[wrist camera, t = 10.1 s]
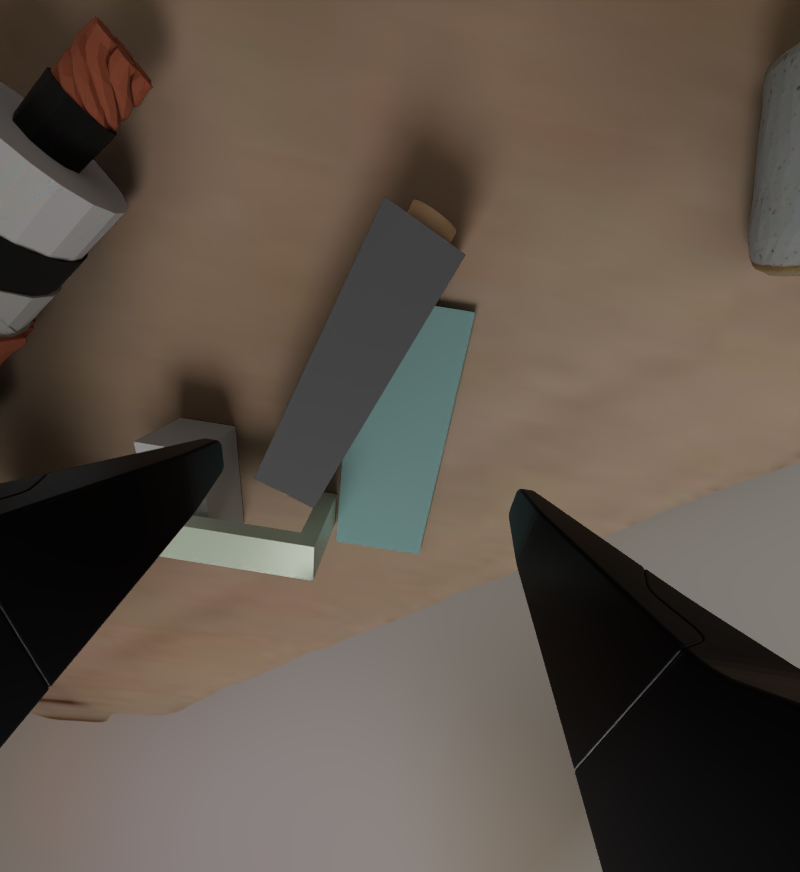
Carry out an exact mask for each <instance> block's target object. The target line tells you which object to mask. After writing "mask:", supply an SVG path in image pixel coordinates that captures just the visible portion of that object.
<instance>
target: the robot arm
mask: <svg viewBox="0 0 800 872" xmlns="http://www.w3.org/2000/svg"><path fill="white" fill-rule="evenodd" d="M223 468H224V461H223V452H222V445H221V442H219V441H218V440H214V439H208V438H204V439H199V440H194V441H190V442H185V443H181V444H176V445H172V446H167V447H163V448H158V449H154V450H149V451H145V452H140V453H136V454H131V455H127V456H122V457H118V458H113V459H109V460H104V461H100V462H95V463H91V464H86V465H82V466H77V467H73V468H68V469H64V470H59V471H55V472H51V473H49V474H41V475H37V476H32V477H28V478H23V479H18V480H14V481H9V482H4V483H0V748H1V746H2V745H3V744H4V743H5V742H6V740H7V739H8V738H9V737H10V735H11V734H12V733H13V732H14V731H15V729H16V728H17V727H18V726H19V725H20V723H21V722H22V721H23V720H24V719H25V717H26V716H27V715H28V714H29V713H30V711H31V710H32V709H33V708H34V707H35V705H36V704H37V703H38V702H39V701H40V699H41V698H42V697H43V696H44V695H45V693H46V692H47V691H48V689H49V688H48V687H50V686H52V685H53V683H54V682H55V681H56V680H57V678H58V677H59V676H60V675H61V674H62V672H63V671H64V670H65V669H66V668H67V666H68V665H69V664H70V663H71V662H72V660H73V659H74V658H75V657H76V656H77V654H78V653H79V652H80V651H81V650H82V648H83V647H84V646H85V645H86V644H87V642H88V641H89V640H90V639H91V638H92V636H93V635H94V634H95V633H96V631H97V630H98V629H99V628H100V627H101V625H102V624H103V623H104V622H105V621H106V619H107V618H108V617H109V616H110V615H111V613H112V612H113V611H114V610H115V609H116V607H117V606H118V605H119V604H120V603H121V601H122V600H123V599H124V598H125V597H126V595H127V594H128V593H129V592H130V591H131V589H132V588H133V587H134V586H135V584H136V583H137V582H138V581H139V580H140V578H141V577H142V576H143V575H144V574H145V572H146V571H147V570H148V569H149V568H150V566H151V565H152V564H153V563H154V562H155V560H156V559H157V558H158V557H159V556H160V554H161V553H162V552H163V551H164V550H165V548H166V547H167V546H168V545H169V544H170V542H171V541H172V540H173V539H174V538H175V536H176V535H177V534H178V533H179V531H180V530H181V529H182V528H183V527H184V525H185V524H186V523H187V522H188V521H189V519H190V518H191V517H192V516H193V514H194V513H195V512H196V510H197V509H198V507H199V506H200V505H201V503H202V502H203V500H204V499H205V497H206V496H207V494H208V493H209V491H210V490H211V488H212V487H213V485H214V484H215V482H216V481H217V479H218V478H219V476H220V475H221V473H222V471H223ZM509 521H510V527H511V533H512V539H513V546H514V552H515V558H516V563H517V567H518V571H519V575H520V577H521V582H522V585H523V589H524V592H525V596H526V600H527V603H528V607H529V610H530V614H531V617H532V621H533V624H534V628H535V631H536V635H537V639H538V642H539V646H540V649H541V653H542V656H543V660H544V663H545V667H546V671H547V674H548V678H549V681H550V685H551V688H552V692H553V695H554V699H555V702H556V706H557V710H558V713H559V717H560V720H561V724H562V727H563V731H564V734H565V738H566V741H567V745H568V749H569V752H570V756H571V759H572V763H573V766H574V769H575V770H576V771H575V775H576V778H577V782H578V785H579V788H580V792H581V796H582V799H583V802H584V806H585V810H586V814H587V817H588V821H589V824H590V828H591V831H592V834H593V838H594V842H595V845H596V849H597V852H598V856H599V860H600V863H601V867H602V870H603V872H800V669H799V668H797V667H795V666H794V665H792V664H790V663H789V662H787V661H786V660H784V659H783V658H781V657H780V656H778V655H776V654H775V653H773V652H772V651H770V650H769V649H767V648H765V647H764V646H762V645H761V644H759V643H757V642H756V641H754V640H753V639H751V638H750V637H748V636H747V635H745V634H743V633H742V632H740V631H738V630H737V629H735V628H734V627H732V626H731V625H729V624H728V623H726V622H724V621H723V620H721V619H720V618H718V617H717V616H715V615H713V614H712V613H711V612H709V611H707V610H706V609H704V608H703V607H701V606H699V605H698V604H697V603H695V602H694V601H692V600H691V599H689V598H687V597H686V596H684V595H683V594H681V593H680V592H679V591H677V590H676V589H674V588H673V587H671V586H670V585H668V584H667V583H665V582H664V581H662V580H661V579H659V578H658V577H657V576H655V575H654V574H652V573H651V572H649V571H648V570H644V568H643V567H642V566H641V565H639V564H638V563H636V562H635V561H634V560H632V559H631V558H629V557H628V556H626V555H625V554H623V553H622V552H621V551H619V550H618V549H616V548H615V547H613V546H612V545H611V544H609V543H608V542H606V541H605V540H603V539H602V538H600V537H599V536H598V535H596V534H595V533H593V532H592V531H590V530H589V529H588V528H586V527H585V526H583V525H582V524H580V523H579V522H577V521H576V520H575V519H573V518H572V517H570V516H569V515H567V514H566V513H565V512H563V511H562V510H560V509H559V508H557V507H556V506H554V505H553V504H552V503H550V502H549V501H547V500H546V499H544V498H543V497H542V496H540V495H539V494H537V493H536V492H534V491H532V490H526V489H519V490H518V491H517V493H516V495H515V498H514V501H513V503H512V506H511V509H510V512H509Z"/></svg>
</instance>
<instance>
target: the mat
mask: <svg viewBox="0 0 800 872" xmlns="http://www.w3.org/2000/svg"><path fill="white" fill-rule="evenodd" d="M474 316H475V312H471V311H464V310H458V309H452V308H446V307H440V306H435V307H434V308H433V310H432V312H431V313H430V315H429V317H428V318H427V320H426V322H425V323H424V325H423V327H422V328H421V330H420V332H419V333H418V335H417V337H416V338H415V340H414V342H413V343H412V345H411V347H410V348H409V350H408V352H407V353H406V355H405V357H404V358H403V360H402V362H401V363H400V365H399V367H398V368H397V370H396V372H395V373H394V375H393V377H392V378H391V380H390V382H389V383H388V385H387V387H386V388H385V390H384V392H383V393H382V395H381V397H380V398H379V400H378V402H377V403H376V405H375V407H374V408H373V410H372V412H371V413H370V415H369V417H368V418H367V420H366V422H365V424H364V425H363V427H362V429H361V430H360V432H359V434H358V435H357V437H356V439H355V440H354V442H353V444H352V445H351V447H350V449H349V450H348V452H347V454H346V455H345V457H344V459H343V460H342V471H341V485H340V498H339V511H338V524H337V538H336V541H338V542H344V543H350V544H357V545H363V546H369V547H375V548H382V549H388V550H394V551H400V552H407V553H413V554H419V552H420V548H421V543H422V539H423V535H424V531H425V526H426V522H427V518H428V513H429V509H430V505H431V501H432V496H433V492H434V488H435V483H436V479H437V475H438V471H439V466H440V462H441V458H442V453H443V449H444V445H445V441H446V436H447V432H448V428H449V423H450V419H451V415H452V410H453V406H454V402H455V398H456V393H457V389H458V385H459V380H460V376H461V372H462V368H463V363H464V359H465V355H466V350H467V346H468V342H469V338H470V333H471V329H472V325H473V320H474Z"/></svg>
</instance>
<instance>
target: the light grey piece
mask: <svg viewBox="0 0 800 872" xmlns="http://www.w3.org/2000/svg"><path fill="white" fill-rule="evenodd" d="M336 501H337V494H334V493H328V492H323V494H322V495H321V497H320V499H319V500H318V502H317V504H316V505H315V507H314V508H313V510H312V512H311V514H310V516H309V518H308V520H307V522H306V524H305V526H304V528H303V530H302V532H301V533H299V532H293V531H287V530H280V529H274V528H268V527H262V526H255V525H249V524H243V523H237V522H230V521H224V520H218V519H212V518H205V517H199V516H192V517H191V518H190V519H189V521H188V522H187V523H186V524H185V525H184V527H183V528H182V529H181V530H180V531H179V533H178V534H177V535H176V536H175V538H174V539H173V540H172V541H171V542H170V544H169V545H168V546H167V547H166V548H165V550H164V551H163V552H162V553H161V554H160V556H161V557H167V558H173V559H179V560H186V561H192V562H198V563H205V564H211V565H217V566H223V567H230V568H236V569H242V570H248V571H255V572H261V573H267V574H273V575H280V576H286V577H292V578H299V579H305V580H311V581H313V580H314V577H315V574H316V572H317V569H318V567H319V564H320V561H321V559H322V556H323V553H324V551H325V548H326V546H327V543H328V540H329V538H330V535H331V532H332V530H333V527H334V525H335V515H336Z"/></svg>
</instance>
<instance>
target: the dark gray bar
mask: <svg viewBox="0 0 800 872" xmlns="http://www.w3.org/2000/svg"><path fill="white" fill-rule="evenodd" d="M456 232H457V231H456V229H455V228H454V226H453V225H452V224H451V223H450V222H449V221H448V220H447V219H446V218H445V217H444V216H442V215H441V214H440V213H439V212H437V211H436V210H434V209H433V208H432V207H430V206H428V205H427V204H425V203H423V202H421V201H419V200H413V202H412V204H411V206H410V208H409V210H408V212H406V211H404V210H403V209H401V208H400V207H399V206H397V205H396V204H394V203H393V202H392V201H390V200H389V199H387V198H386V197H385V196H384V198H383V200H382V203H381V205H380V207H379V209H378V211H377V213H376V216H375V218H374V220H373V222H372V224H371V226H370V229H369V231H368V233H367V235H366V237H365V239H364V242H363V244H362V246H361V248H360V250H359V252H358V255H357V257H356V259H355V261H354V263H353V265H352V268H351V270H350V272H349V274H348V276H347V278H346V281H345V283H344V285H343V287H342V289H341V291H340V294H339V296H338V298H337V300H336V302H335V304H334V307H333V309H332V311H331V313H330V315H329V317H328V320H327V322H326V324H325V326H324V328H323V330H322V333H321V335H320V337H319V339H318V341H317V343H316V346H315V348H314V350H313V352H312V354H311V356H310V359H309V361H308V363H307V365H306V367H305V369H304V372H303V374H302V376H301V378H300V380H299V382H298V385H297V387H296V389H295V391H294V393H293V395H292V398H291V400H290V402H289V404H288V406H287V408H286V411H285V413H284V415H283V417H282V419H281V421H280V424H279V426H278V428H277V430H276V432H275V434H274V437H273V439H272V441H271V443H270V445H269V447H268V450H267V452H266V454H265V456H264V458H263V460H262V463H261V465H260V467H259V469H258V471H257V474H256V476H255V479H257V480H259V481H261V482H263V483H265V484H267V485H269V486H271V487H273V488H274V489H276V490H278V491H280V492H281V493H283V494H284V495H287V496H289V497H292V498H294V499H296V500H298V501H300V502H302V503H304V504H306V505H308V506H310V507H312V508H314V507H315V505H316V504H317V502H318V500H319V499H320V497H321V495H322V494H323V492H324V490H325V489H326V487H327V485H328V484H329V482H330V480H331V479H332V477H333V475H334V474H335V472H336V470H337V469H338V467H339V465H340V464H341V462H342V460H343V459H344V457H345V455H346V454H347V452H348V450H349V449H350V447H351V445H352V444H353V442H354V440H355V439H356V437H357V435H358V434H359V432H360V430H361V429H362V427H363V425H364V424H365V422H366V420H367V418H368V417H369V415H370V413H371V412H372V410H373V408H374V407H375V405H376V403H377V402H378V400H379V398H380V397H381V395H382V393H383V392H384V390H385V388H386V387H387V385H388V383H389V382H390V380H391V378H392V377H393V375H394V373H395V372H396V370H397V368H398V367H399V365H400V363H401V362H402V360H403V358H404V357H405V355H406V353H407V352H408V350H409V348H410V347H411V345H412V343H413V342H414V340H415V338H416V337H417V335H418V333H419V332H420V330H421V328H422V327H423V325H424V323H425V322H426V320H427V318H428V317H429V315H430V313H431V312H432V310H433V308H434V307H435V305H436V303H437V302H438V300H439V298H440V297H441V295H442V293H443V292H444V290H445V288H446V287H447V285H448V283H449V282H450V280H451V278H452V277H453V275H454V273H455V272H456V270H457V268H458V267H459V265H460V263H461V262H462V260H463V258H464V257H465V255H466V254H464V253H463V252H461V251H460V250H459V249H457V248H456V247H454V246H453V245H452V244H450V243H451V241H452V240H453V238H454V236H455V234H456Z"/></svg>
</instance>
